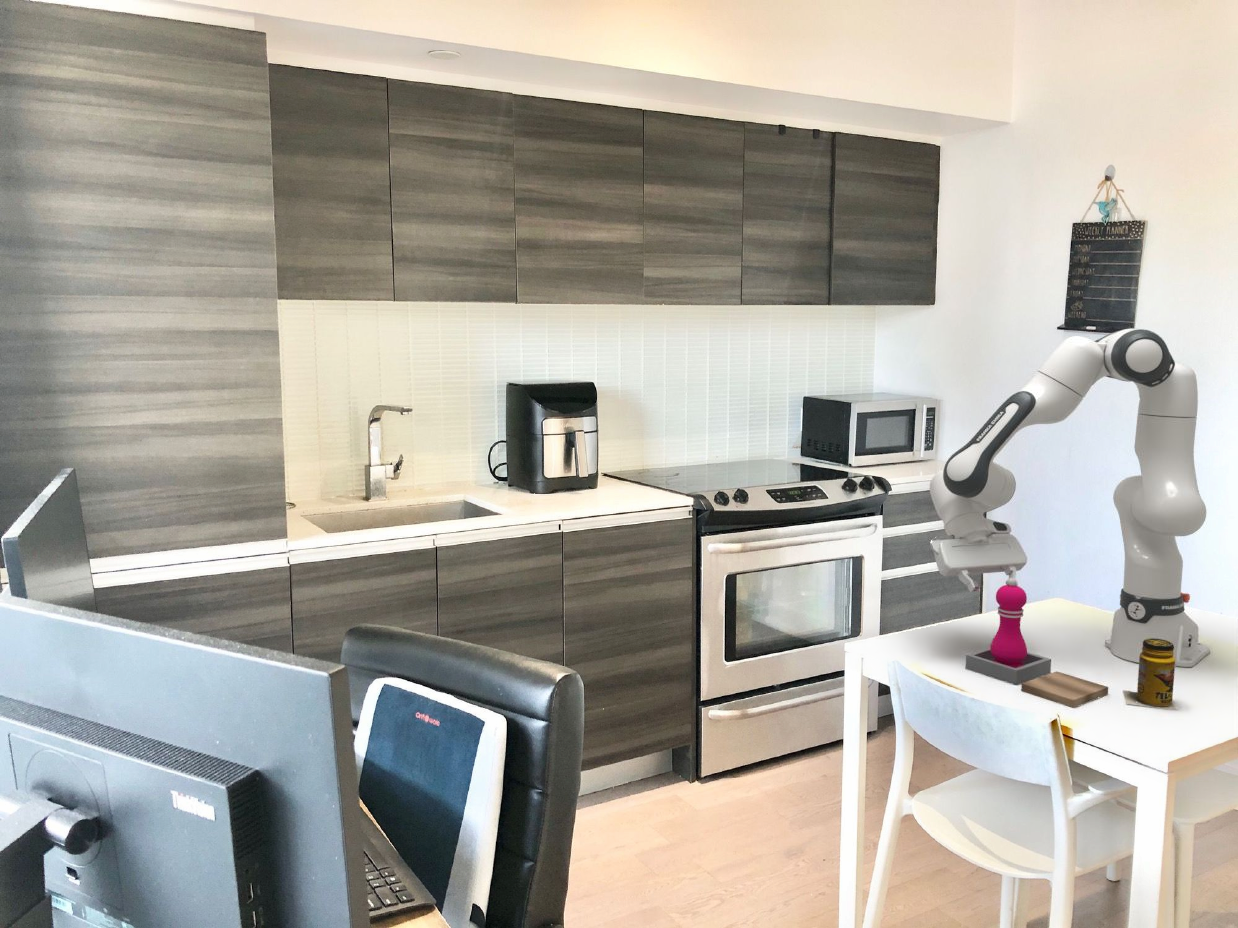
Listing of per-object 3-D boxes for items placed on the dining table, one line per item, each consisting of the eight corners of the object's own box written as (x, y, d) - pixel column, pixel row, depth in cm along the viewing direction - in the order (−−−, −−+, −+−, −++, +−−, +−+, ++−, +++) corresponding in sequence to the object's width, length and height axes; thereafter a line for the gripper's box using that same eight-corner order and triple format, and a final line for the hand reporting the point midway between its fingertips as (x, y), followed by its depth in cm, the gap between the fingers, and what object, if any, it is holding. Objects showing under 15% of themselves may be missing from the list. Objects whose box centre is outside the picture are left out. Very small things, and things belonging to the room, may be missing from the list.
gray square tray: (999, 657, 218) (1000, 644, 217) (1050, 672, 208) (1051, 658, 207) (965, 668, 211) (966, 654, 210) (1016, 684, 201) (1016, 670, 201)
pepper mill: (1029, 677, 205) (1034, 583, 202) (992, 675, 206) (996, 581, 204) (1022, 665, 212) (1027, 574, 209) (986, 663, 213) (990, 573, 211)
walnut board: (1056, 678, 205) (1056, 671, 204) (1107, 694, 196) (1108, 686, 195) (1021, 690, 198) (1021, 683, 198) (1073, 707, 189) (1073, 700, 189)
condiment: (1176, 710, 187) (1181, 649, 186) (1126, 704, 190) (1130, 644, 189) (1171, 697, 194) (1175, 637, 192) (1122, 691, 197) (1126, 633, 195)
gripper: (933, 529, 216) (957, 584, 208) (1015, 524, 221) (1042, 577, 213) (921, 545, 220) (944, 599, 212) (1002, 539, 225) (1027, 592, 217)
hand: (994, 588), depth 213 cm, fingers open, 8 cm apart
